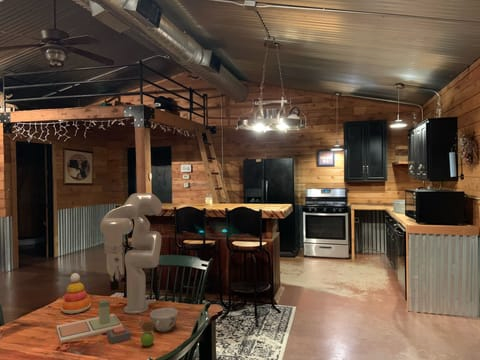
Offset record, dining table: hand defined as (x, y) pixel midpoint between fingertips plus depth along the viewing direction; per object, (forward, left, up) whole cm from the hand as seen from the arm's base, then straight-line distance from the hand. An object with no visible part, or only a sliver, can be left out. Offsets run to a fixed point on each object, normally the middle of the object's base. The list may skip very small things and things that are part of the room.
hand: (114, 289), depth 157 cm
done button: (-1, +4, -19) cm, 20 cm away
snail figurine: (-9, +18, -21) cm, 28 cm away
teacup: (-20, +7, -21) cm, 29 cm away
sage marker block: (+2, -14, -19) cm, 23 cm away
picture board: (+8, -13, -20) cm, 26 cm away
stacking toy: (+10, -42, -21) cm, 47 cm away
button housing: (-1, +4, -20) cm, 21 cm away
